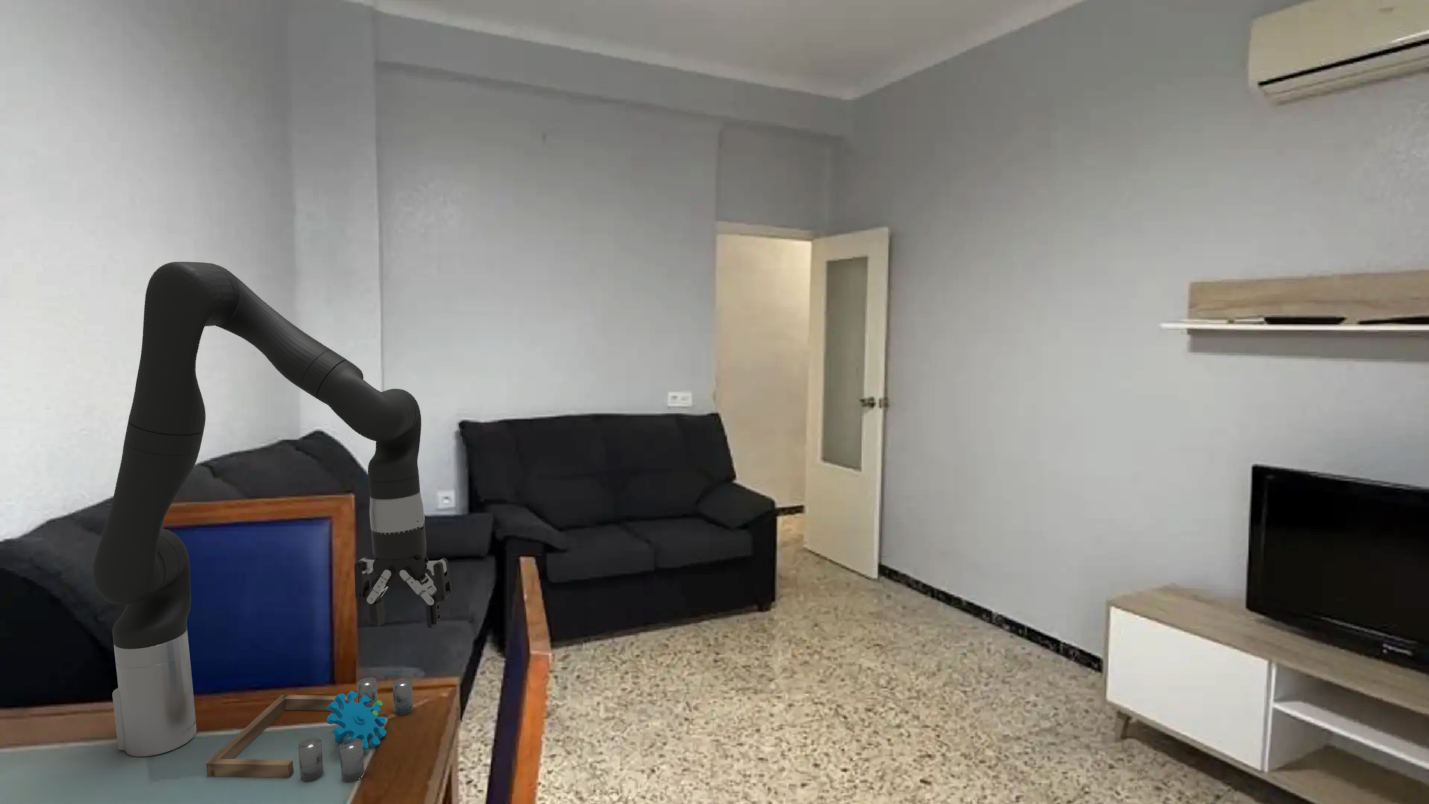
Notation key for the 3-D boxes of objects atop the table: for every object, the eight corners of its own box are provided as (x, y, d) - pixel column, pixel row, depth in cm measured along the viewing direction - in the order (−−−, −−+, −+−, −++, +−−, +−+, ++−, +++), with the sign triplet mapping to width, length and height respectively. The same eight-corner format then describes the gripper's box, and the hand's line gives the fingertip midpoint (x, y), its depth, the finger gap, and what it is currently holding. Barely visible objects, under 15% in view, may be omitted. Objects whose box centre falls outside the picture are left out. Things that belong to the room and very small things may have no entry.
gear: (359, 756, 117) (319, 702, 119) (334, 780, 118) (295, 726, 120) (404, 726, 128) (367, 677, 130) (381, 748, 129) (344, 700, 131)
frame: (207, 776, 115) (206, 763, 115) (282, 706, 134) (281, 694, 134) (289, 777, 115) (288, 765, 114) (352, 707, 134) (351, 696, 134)
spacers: (296, 781, 114) (293, 749, 113) (363, 705, 135) (361, 677, 134) (358, 782, 114) (356, 750, 113) (416, 706, 134) (414, 678, 134)
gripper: (338, 530, 116) (348, 634, 119) (431, 531, 115) (439, 637, 117) (366, 515, 124) (375, 614, 126) (454, 516, 122) (461, 616, 124)
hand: (406, 625), depth 121 cm, fingers open, 8 cm apart
